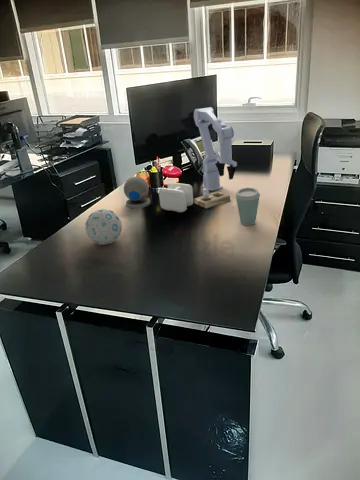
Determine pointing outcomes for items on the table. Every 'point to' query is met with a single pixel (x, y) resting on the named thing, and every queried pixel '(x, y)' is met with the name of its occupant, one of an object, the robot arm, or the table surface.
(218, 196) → the socket block
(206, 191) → the pin
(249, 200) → the disposable coffee cup
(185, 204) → the cable organizer
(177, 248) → the table surface
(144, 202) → the webcam
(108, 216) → the puzzle ball
